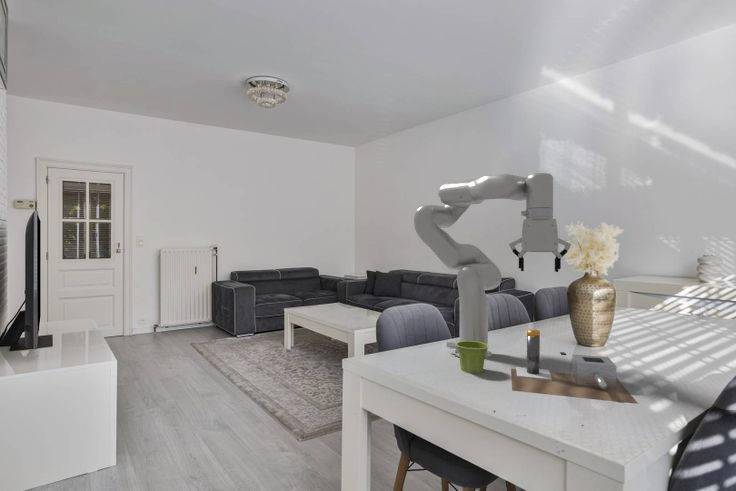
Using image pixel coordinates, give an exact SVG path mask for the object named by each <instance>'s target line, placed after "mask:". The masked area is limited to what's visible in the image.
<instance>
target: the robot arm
mask: <svg viewBox="0 0 736 491" xmlns="http://www.w3.org/2000/svg"><path fill="white" fill-rule="evenodd" d="M437 195H438V199H439V201H440V202H441V203H442V204H444V205H438V204H425V205H422V206H420V207H418V208H416V210H415V212H414V216H413V224H414V225H413V226H414V230H415V232H416V234H417V236H418V237H419V238H420V240H422V242H423V243H424V244H425V245H426V246H427V247H429V249H431V251H432V252H433V253H434V254H435V256H436V257H437V258H438V259H439V260H440V261H441V262H442V263H443V265H445V267H446V268H448V269H449V270H451V271H458V272H457V274H456V275H457V276H456V283H457V289H458V296H459V297H458V298H459V300H458V301H459V339H458V341H455V342H452V341H447V342H446V348H449V349H450V350H451V349H453V350H454V349H455V351H454V355H455V356H456V357H458V358H460V357H459V351H458V347H457V346H456V343H457V342H461V341H475V342H481V343H485V344H487V345H488V346H489V302H488V298H487V295H486V291H490V290H494V289H496V288H498V287H499V286H500V284H501V282H502V277H503V276H502V273H501V270H500V269H499V267H498V266H497V265H496V264H495V263H494V262H493V261H492V260H491V259H490V258H489V257H488V255H486V254H485V253H484V252H483V251H482V250H481V249H480V248H479V247H477V246H475V245H474V244H469V243H460V242H457V241H456V240H455V239H454V238H453V237H451V235H450V234H449V233H447V232H446V231H445V230H443V229H445V228H450V227H452V226H453V225H454V224H456V223H457V221H458V220H459V219H461V217H462V215H464V213H465V212H466V211H467V210H468V209H469V207H470V206H471V205H479V204H482V203H483V202H484V201H485V200H496V199H500V200H501V199H504V200H513V201H517V202H518V201H522V202H523V201H526V202H525V203H526V204H525V205H526V207H525V208H526V209H525V210H522V211H521V216H524V217H525V218H524V219H523V222H522V229H521V237H520V238H518V239H516V240H514V241H512V242H510V243H509V244H508V246H509V248H510V249H511V251H512V253H513V254H514V255H516V256H517V258H518V269H520V271H521V272H525V270H524V269H525V259H524V256H525V254H526V253H527V252H528V253H552V254H553V255H554V256H555V258H554V272H556V273H558V272H559V270H561V268H562V266H561V265H562V264H561V262H562V261H561V260H562V258H563V257H564V256H565V255H566V254H567V253H568V251H569V250H570V248H571V246H572V244H571V243H570V242H567V241H566V240H564V239H561V238H560V237H559V230H558V224H557V219H556V218H554V177H553V175H552V174H551V173H547V172H538V173H532V174H529V175H528V176H527V177H525V176H520V175H516V174H510V173H509V174H508V173H503V174H502V173H500V174H493V175H484V176H481V177H478V178H475V179H468V180H458V181H449V182H446V183H443V184H442V185H441V186H440V187H439V189H438V192H437ZM442 228H443V229H442ZM519 244H521V250H520V252H519V251H518V250H517V248H516V246H517V245H519ZM559 244H560V245H561V246H564V247H563V249H562V250H561V251H560V252H559V251H558V249H559ZM492 355H493V352H492V351H489V347H488V348H487V352H486V354H485V358H488V357H491V356H492Z"/></svg>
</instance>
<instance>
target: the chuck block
mask: <svg viewBox="0 0 736 491" xmlns="http://www.w3.org/2000/svg"><path fill="white" fill-rule="evenodd" d="M571 370H572V372H571V374H572V376H573V378H574V380H575V382H576V384H577V385H578V386H588V387H598V388H602V389H605V388H608V389H616V378H617V365H616V364H615V363H614V362H613V361H612V360H611V359H610V358H609V357H608V356H598V355H585V354H572V369H571Z"/></svg>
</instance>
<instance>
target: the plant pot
mask: <svg viewBox="0 0 736 491" xmlns="http://www.w3.org/2000/svg"><path fill="white" fill-rule="evenodd" d="M456 342H457V343H456ZM456 342H455V343H456V346H457V347H458V351H459V357H458V358H459V365H460V371H462V372H464V373H470V374H481V373H483V371H484V365H485V359H486V357H485V354H486V352H487V348H488V349H489V344H488V345H487V344H485V343H481V342H475V341H461V342H459V341H456Z"/></svg>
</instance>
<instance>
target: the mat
mask: <svg viewBox="0 0 736 491" xmlns="http://www.w3.org/2000/svg"><path fill="white" fill-rule="evenodd" d="M515 369H516V372H517V378H528V379H538V380H549V381H552V377H551V375H550V372H551V371H550V370H549V369H545V368H544V369H543V368H540V371H539V374H529V373H527V367H523V366H522V367H521V366H516V367H515Z"/></svg>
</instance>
